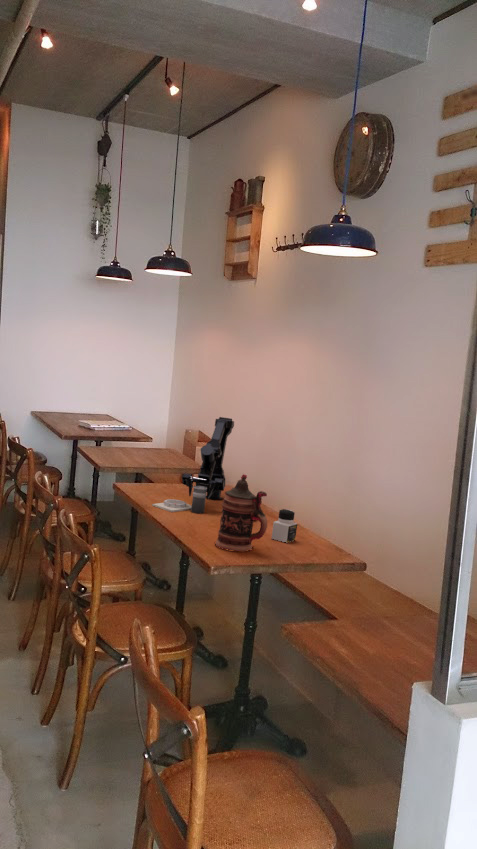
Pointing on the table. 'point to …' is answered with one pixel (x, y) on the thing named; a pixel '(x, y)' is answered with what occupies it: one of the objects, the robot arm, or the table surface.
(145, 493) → the table surface
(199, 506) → the grey round piece
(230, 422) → the robot arm
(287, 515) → the medicine bottle
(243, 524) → the beer stein
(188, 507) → the board
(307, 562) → the table surface
